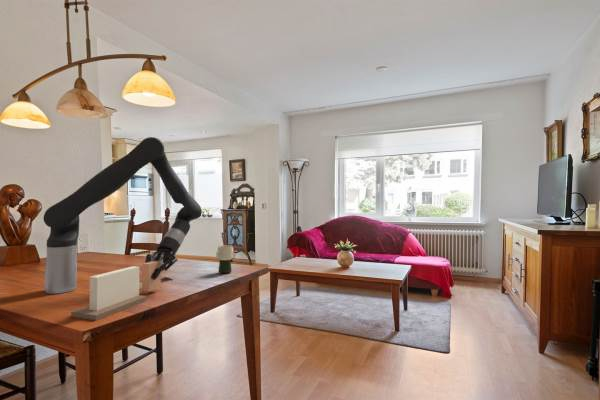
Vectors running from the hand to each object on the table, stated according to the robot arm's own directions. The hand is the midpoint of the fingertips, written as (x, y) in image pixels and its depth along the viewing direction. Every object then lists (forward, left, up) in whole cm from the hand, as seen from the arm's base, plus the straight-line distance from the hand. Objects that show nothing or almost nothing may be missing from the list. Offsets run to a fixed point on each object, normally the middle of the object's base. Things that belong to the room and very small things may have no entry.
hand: (149, 278), depth 113 cm
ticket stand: (0, -15, -6) cm, 17 cm away
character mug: (+9, +39, -6) cm, 40 cm away
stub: (0, +1, -4) cm, 5 cm away
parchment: (-12, +9, -7) cm, 16 cm away
